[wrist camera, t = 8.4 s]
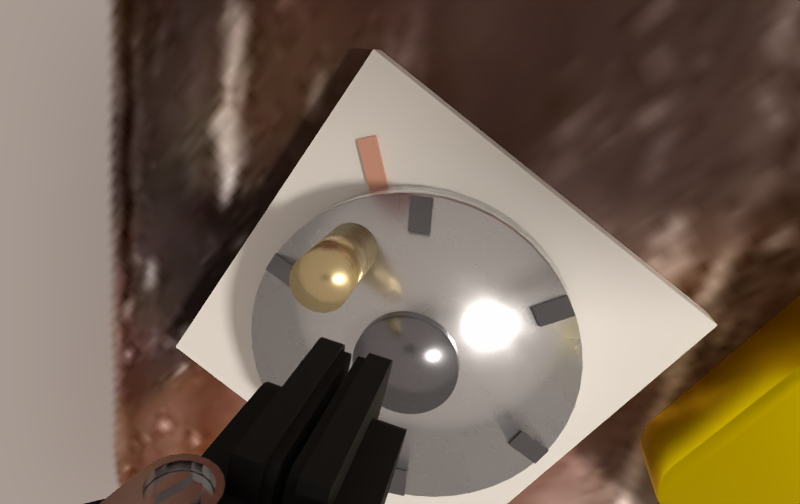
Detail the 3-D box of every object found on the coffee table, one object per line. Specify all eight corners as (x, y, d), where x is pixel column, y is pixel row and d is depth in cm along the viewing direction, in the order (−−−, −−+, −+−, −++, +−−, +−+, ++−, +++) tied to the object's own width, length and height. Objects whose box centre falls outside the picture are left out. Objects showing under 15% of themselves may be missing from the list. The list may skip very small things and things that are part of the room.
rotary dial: (625, 427, 27) (656, 529, 21) (349, 497, 32) (311, 597, 26) (501, 128, 24) (496, 148, 18) (215, 257, 29) (136, 306, 23)
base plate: (707, 312, 27) (719, 327, 25) (450, 534, 34) (446, 556, 32) (381, 50, 26) (372, 48, 24) (190, 335, 33) (173, 348, 31)
